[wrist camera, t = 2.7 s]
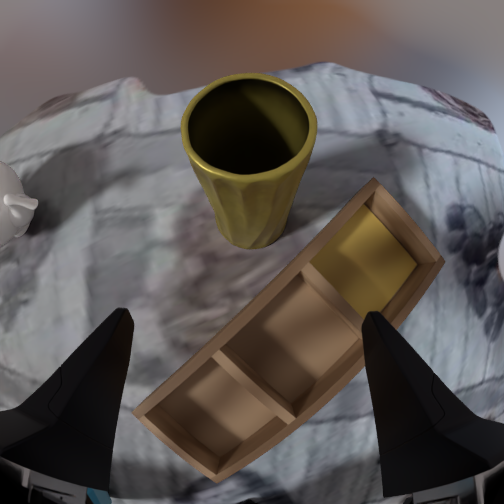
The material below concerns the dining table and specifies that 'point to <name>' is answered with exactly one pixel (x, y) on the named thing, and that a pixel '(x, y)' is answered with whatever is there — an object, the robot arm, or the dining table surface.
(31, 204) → the teapot
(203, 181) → the vase
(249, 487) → the dining table surface
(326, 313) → the rack
